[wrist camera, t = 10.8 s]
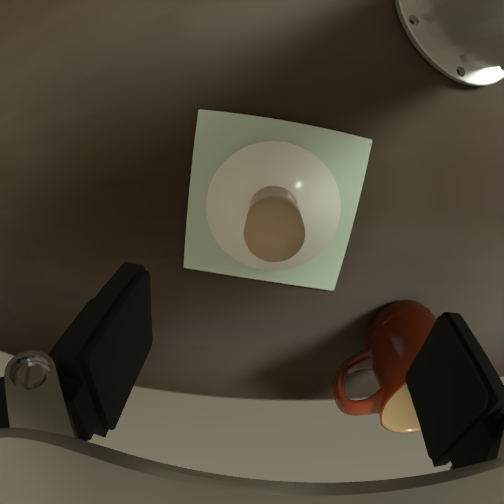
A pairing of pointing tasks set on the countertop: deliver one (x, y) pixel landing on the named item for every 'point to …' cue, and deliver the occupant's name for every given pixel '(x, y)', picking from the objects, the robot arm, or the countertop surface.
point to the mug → (388, 365)
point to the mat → (257, 130)
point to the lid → (273, 205)
